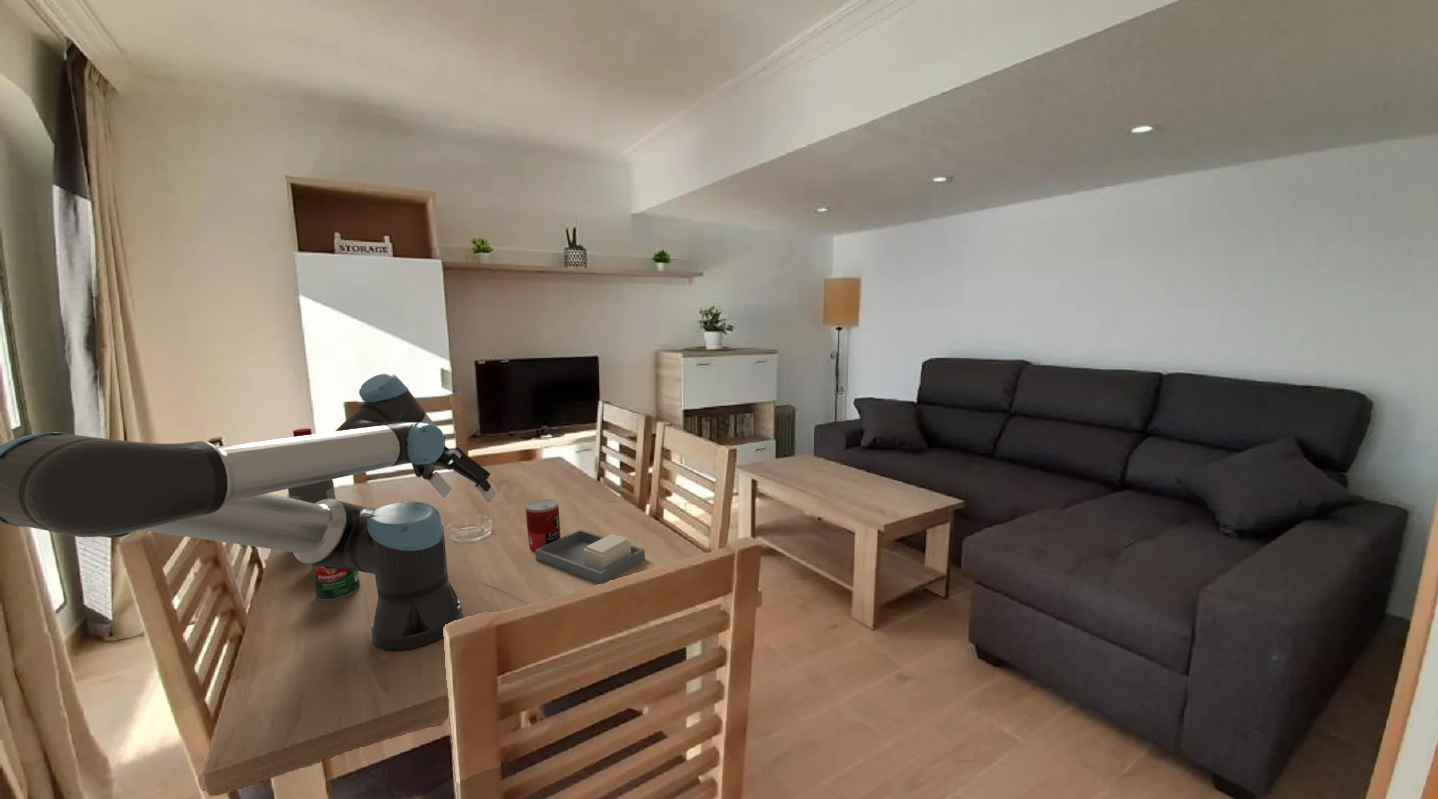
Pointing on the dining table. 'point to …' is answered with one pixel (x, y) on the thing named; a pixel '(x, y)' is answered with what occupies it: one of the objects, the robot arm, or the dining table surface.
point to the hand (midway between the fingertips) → (469, 495)
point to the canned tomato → (334, 582)
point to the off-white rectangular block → (606, 552)
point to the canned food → (542, 522)
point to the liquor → (315, 490)
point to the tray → (571, 556)
